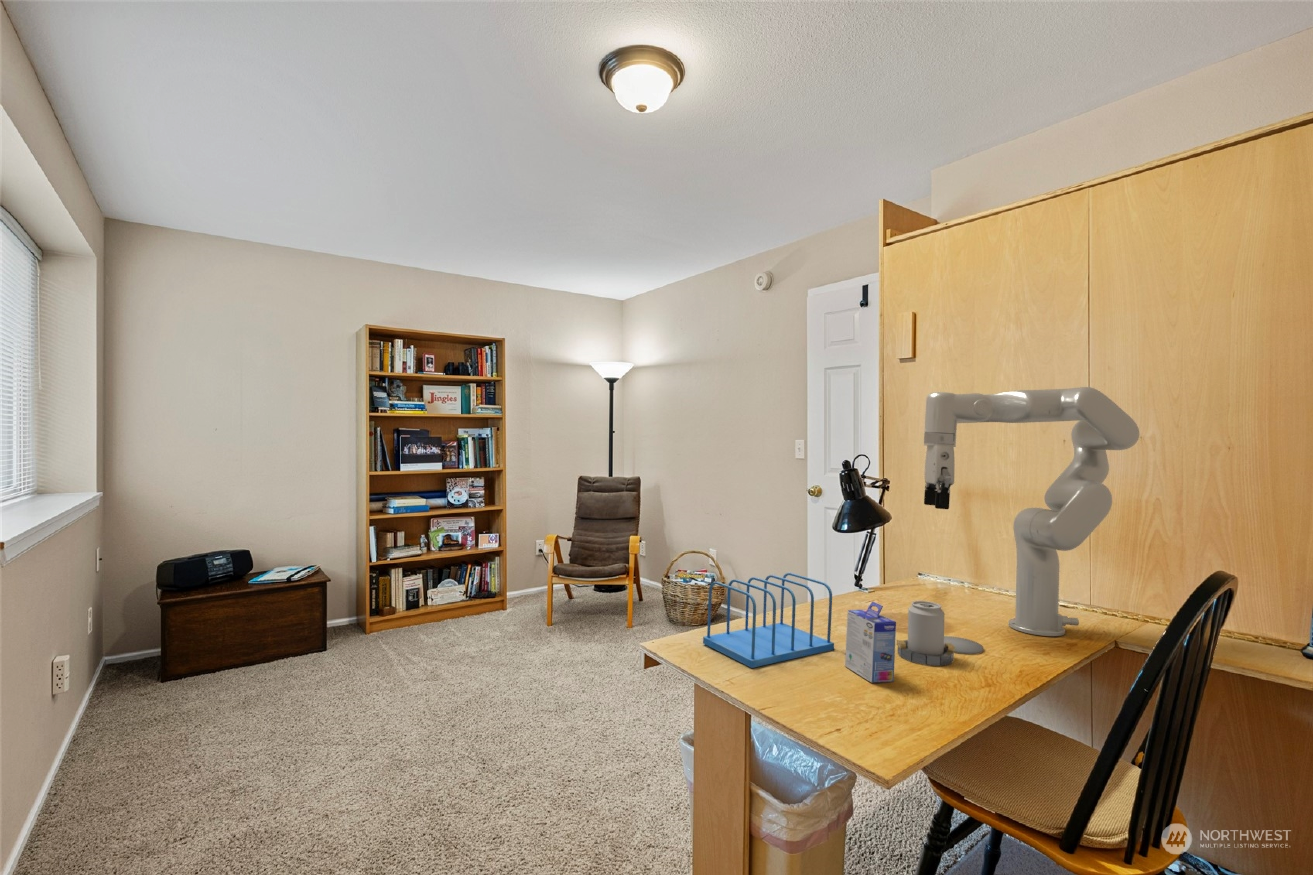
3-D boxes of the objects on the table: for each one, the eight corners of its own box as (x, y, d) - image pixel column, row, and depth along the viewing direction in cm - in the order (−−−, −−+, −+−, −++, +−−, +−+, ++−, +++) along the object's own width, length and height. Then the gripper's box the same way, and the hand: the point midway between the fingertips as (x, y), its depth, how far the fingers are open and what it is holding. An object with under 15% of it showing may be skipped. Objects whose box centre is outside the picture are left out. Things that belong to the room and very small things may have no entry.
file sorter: (751, 670, 130) (753, 596, 130) (702, 645, 144) (703, 579, 144) (834, 650, 143) (836, 583, 143) (781, 629, 158) (783, 569, 158)
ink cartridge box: (896, 682, 124) (898, 609, 124) (872, 684, 123) (874, 611, 123) (866, 664, 134) (868, 597, 134) (843, 666, 132) (845, 598, 132)
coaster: (972, 640, 152) (972, 637, 152) (991, 655, 141) (991, 653, 141) (925, 637, 153) (925, 635, 153) (940, 652, 142) (940, 650, 142)
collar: (944, 649, 144) (944, 637, 144) (962, 667, 133) (962, 653, 133) (891, 646, 146) (891, 634, 146) (904, 663, 135) (905, 650, 135)
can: (945, 655, 141) (946, 602, 141) (941, 665, 134) (942, 609, 134) (909, 648, 145) (911, 597, 145) (904, 658, 138) (905, 604, 138)
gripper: (966, 441, 151) (962, 511, 151) (944, 441, 168) (941, 504, 168) (934, 439, 152) (930, 509, 152) (915, 440, 169) (912, 502, 169)
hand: (936, 506), depth 160 cm, fingers open, 9 cm apart
